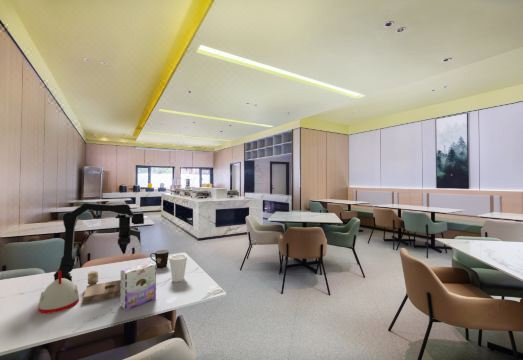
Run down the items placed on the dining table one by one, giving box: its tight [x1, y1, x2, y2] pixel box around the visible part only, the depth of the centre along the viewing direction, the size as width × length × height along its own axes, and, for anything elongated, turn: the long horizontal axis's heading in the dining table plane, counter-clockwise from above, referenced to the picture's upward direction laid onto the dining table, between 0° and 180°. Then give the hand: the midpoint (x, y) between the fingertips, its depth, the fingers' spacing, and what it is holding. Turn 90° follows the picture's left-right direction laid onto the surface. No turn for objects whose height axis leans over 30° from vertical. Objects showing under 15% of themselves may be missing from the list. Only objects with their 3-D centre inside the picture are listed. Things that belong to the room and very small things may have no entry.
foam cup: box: [168, 254, 188, 283], centre depth 136 cm, size 10×9×13 cm
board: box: [82, 279, 121, 304], centre depth 119 cm, size 16×14×3 cm
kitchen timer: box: [37, 271, 80, 315], centre depth 107 cm, size 14×14×15 cm
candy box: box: [119, 262, 157, 311], centre depth 110 cm, size 14×6×16 cm, turn 141°
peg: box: [87, 270, 99, 285], centre depth 125 cm, size 4×4×8 cm
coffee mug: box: [149, 249, 170, 270], centre depth 157 cm, size 12×9×10 cm
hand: (124, 251), depth 140 cm, fingers open, 9 cm apart
